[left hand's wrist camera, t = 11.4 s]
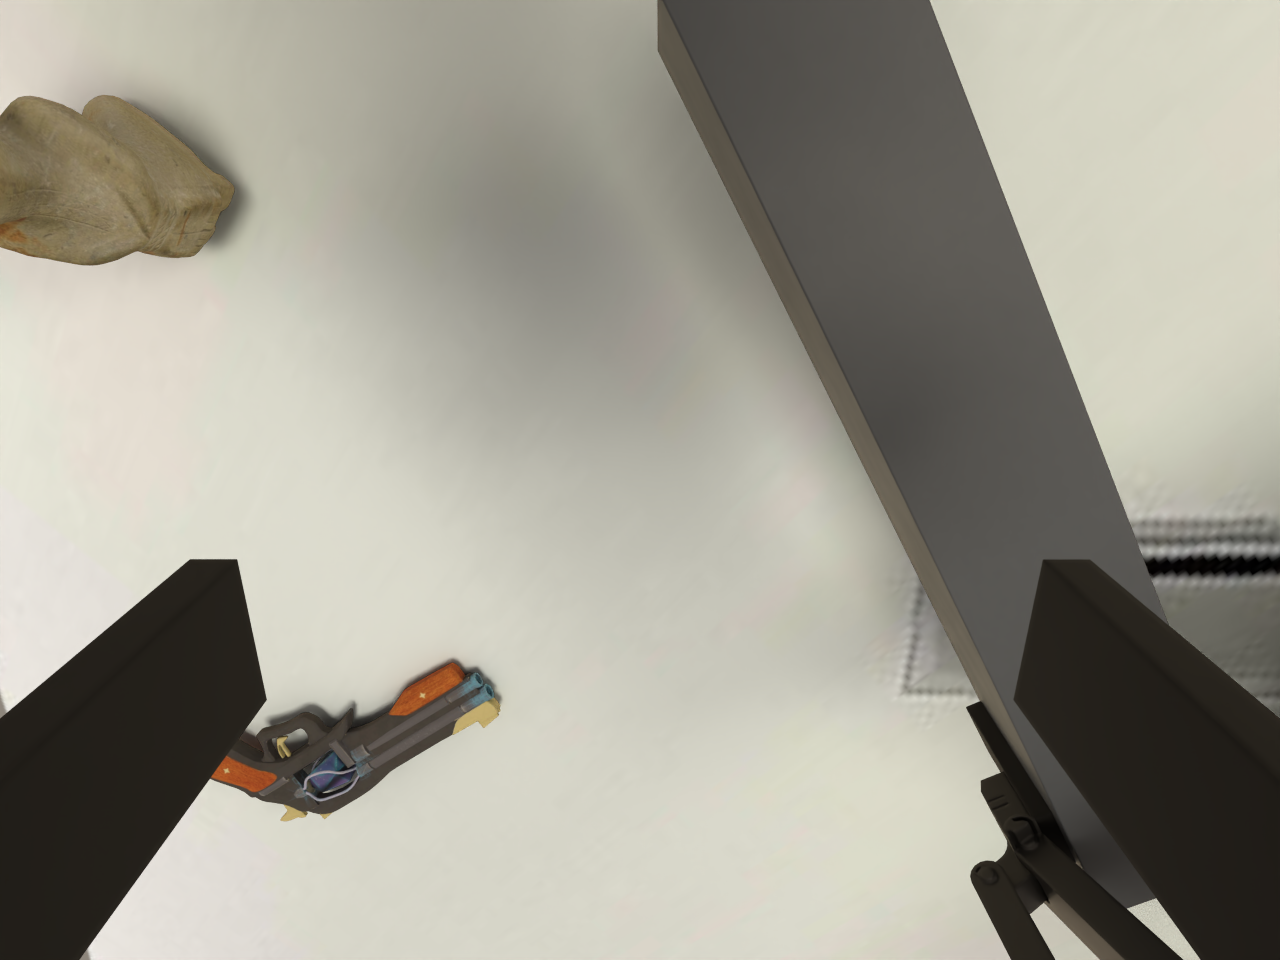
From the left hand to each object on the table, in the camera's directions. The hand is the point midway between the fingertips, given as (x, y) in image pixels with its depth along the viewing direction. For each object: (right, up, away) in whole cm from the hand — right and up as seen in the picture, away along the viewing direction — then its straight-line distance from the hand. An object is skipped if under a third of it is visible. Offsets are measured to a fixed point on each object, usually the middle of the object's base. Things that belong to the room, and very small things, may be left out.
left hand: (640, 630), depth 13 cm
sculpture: (-22, +17, +24) cm, 37 cm away
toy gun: (-19, -12, +35) cm, 42 cm away
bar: (+11, +5, +17) cm, 21 cm away
